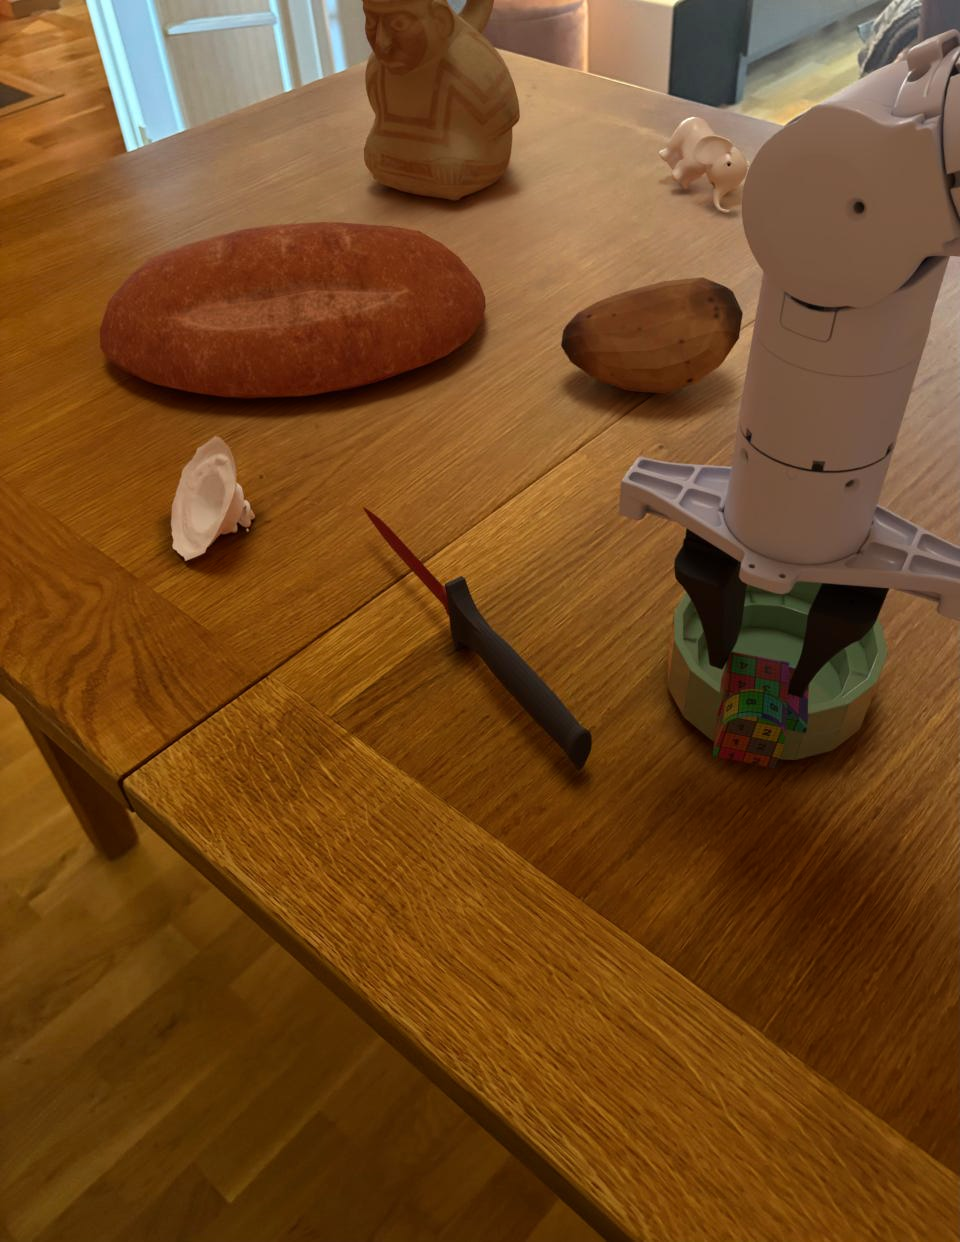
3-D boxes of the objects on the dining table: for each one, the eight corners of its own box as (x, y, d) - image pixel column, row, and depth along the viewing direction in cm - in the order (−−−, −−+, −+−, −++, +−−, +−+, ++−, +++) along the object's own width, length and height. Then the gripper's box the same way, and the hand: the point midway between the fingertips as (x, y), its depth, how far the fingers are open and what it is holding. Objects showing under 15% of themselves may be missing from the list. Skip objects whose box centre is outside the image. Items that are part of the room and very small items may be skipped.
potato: (580, 428, 81) (563, 335, 83) (752, 388, 79) (731, 293, 80) (566, 395, 74) (548, 293, 75) (756, 349, 71) (733, 245, 73)
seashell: (247, 577, 72) (275, 544, 65) (168, 573, 70) (190, 539, 63) (245, 469, 74) (273, 426, 66) (169, 461, 71) (189, 416, 64)
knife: (592, 771, 55) (596, 712, 51) (570, 784, 54) (572, 725, 50) (376, 531, 69) (367, 472, 65) (357, 540, 68) (347, 480, 65)
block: (803, 774, 46) (823, 729, 44) (712, 755, 47) (727, 710, 44) (807, 673, 50) (826, 627, 48) (723, 657, 51) (737, 610, 48)
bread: (506, 389, 80) (503, 283, 74) (91, 437, 78) (51, 332, 71) (468, 255, 96) (463, 158, 89) (121, 292, 93) (91, 195, 87)
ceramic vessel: (327, 197, 106) (284, -93, 88) (433, 130, 117) (413, -140, 99) (467, 231, 99) (451, -75, 81) (564, 156, 110) (569, -127, 92)
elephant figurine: (691, 216, 97) (747, 167, 94) (638, 129, 102) (690, 80, 99) (724, 244, 103) (777, 200, 100) (672, 161, 108) (722, 116, 104)
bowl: (889, 656, 59) (909, 600, 56) (833, 797, 53) (852, 743, 50) (708, 594, 63) (717, 540, 60) (635, 718, 57) (641, 665, 54)
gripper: (594, 432, 39) (583, 670, 48) (1002, 548, 33) (897, 789, 43) (665, 342, 43) (642, 578, 53) (1038, 432, 37) (935, 676, 47)
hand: (760, 666), depth 48 cm, fingers closed on block, 3 cm apart
